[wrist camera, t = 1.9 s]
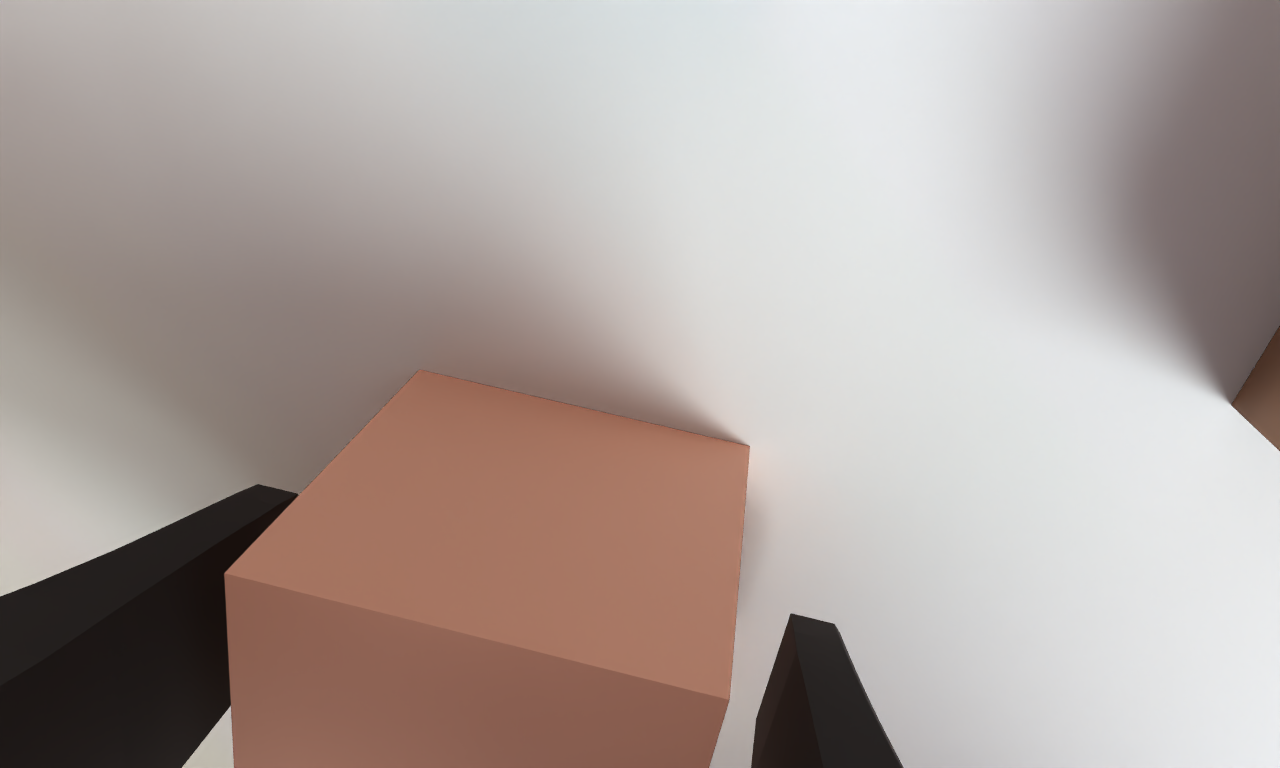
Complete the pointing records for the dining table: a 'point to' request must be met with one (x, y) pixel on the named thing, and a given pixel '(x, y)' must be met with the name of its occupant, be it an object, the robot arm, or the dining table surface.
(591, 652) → the terracotta cube
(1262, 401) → the walnut block
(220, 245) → the dining table surface
